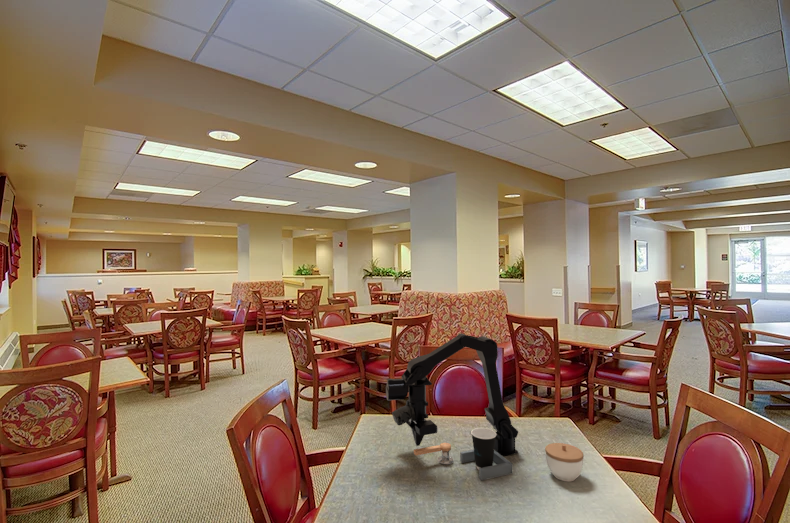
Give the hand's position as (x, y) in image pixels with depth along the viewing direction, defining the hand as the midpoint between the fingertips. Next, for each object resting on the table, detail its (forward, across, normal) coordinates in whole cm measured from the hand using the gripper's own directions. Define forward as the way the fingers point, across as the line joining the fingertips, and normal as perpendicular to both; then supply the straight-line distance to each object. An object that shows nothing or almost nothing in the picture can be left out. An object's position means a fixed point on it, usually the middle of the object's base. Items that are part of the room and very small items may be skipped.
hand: (417, 445), depth 130 cm
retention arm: (0, +5, +3) cm, 6 cm away
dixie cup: (+5, +12, +18) cm, 22 cm away
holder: (+4, +12, +18) cm, 22 cm away
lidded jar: (+5, +26, +38) cm, 46 cm away
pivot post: (+4, +5, +8) cm, 10 cm away
